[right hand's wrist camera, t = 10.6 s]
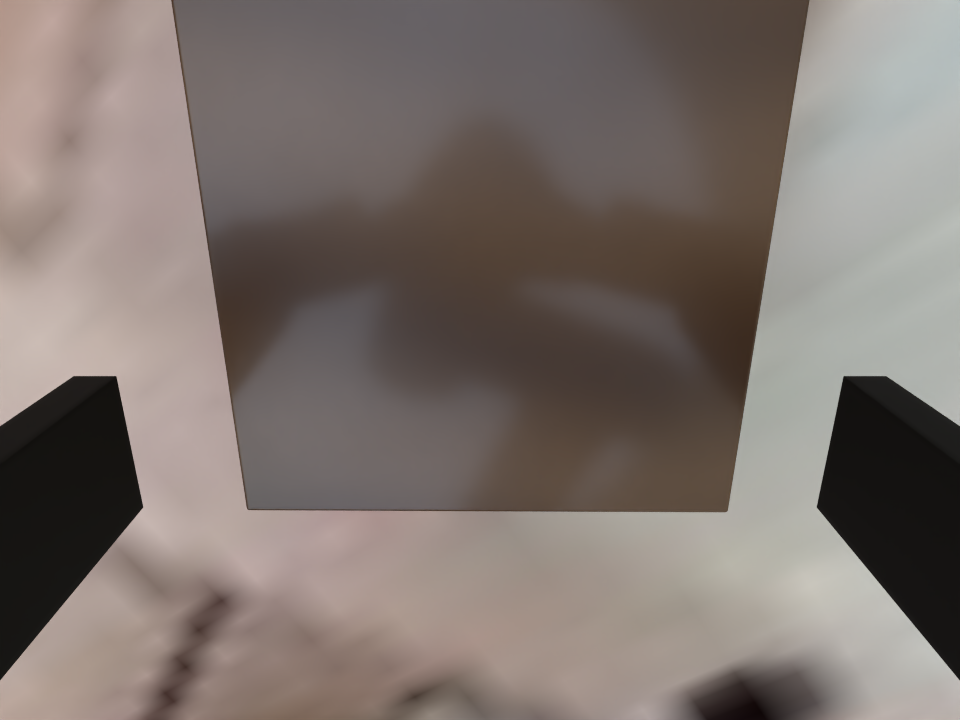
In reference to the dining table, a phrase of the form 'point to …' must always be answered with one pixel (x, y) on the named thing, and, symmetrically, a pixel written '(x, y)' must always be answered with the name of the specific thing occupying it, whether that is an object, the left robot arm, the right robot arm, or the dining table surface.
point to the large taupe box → (489, 243)
